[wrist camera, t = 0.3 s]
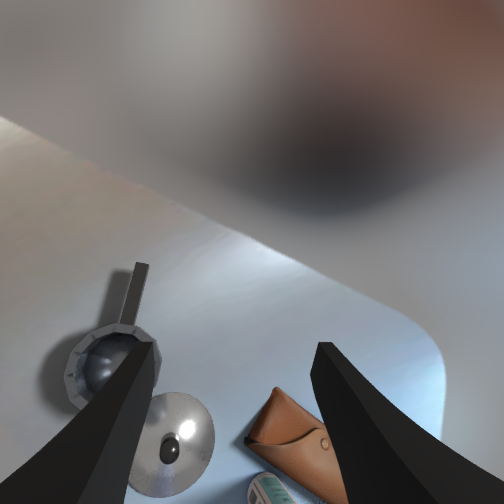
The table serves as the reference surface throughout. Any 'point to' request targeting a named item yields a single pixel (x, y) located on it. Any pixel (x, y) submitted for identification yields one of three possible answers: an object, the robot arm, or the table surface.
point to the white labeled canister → (268, 490)
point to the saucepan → (108, 347)
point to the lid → (172, 445)
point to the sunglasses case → (297, 447)
